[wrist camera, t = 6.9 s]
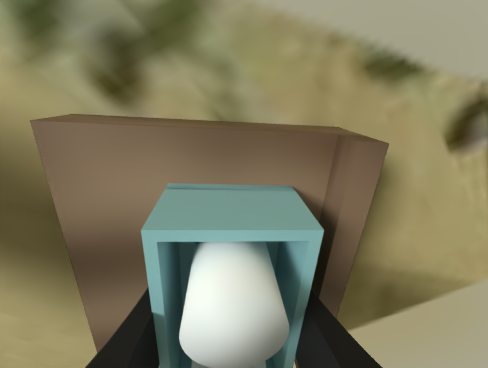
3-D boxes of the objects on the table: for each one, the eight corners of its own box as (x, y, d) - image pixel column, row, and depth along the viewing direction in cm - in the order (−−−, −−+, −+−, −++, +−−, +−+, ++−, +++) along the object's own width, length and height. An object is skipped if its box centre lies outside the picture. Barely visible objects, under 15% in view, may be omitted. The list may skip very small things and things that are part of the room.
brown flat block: (297, 315, 17) (318, 376, 13) (117, 322, 16) (85, 392, 12) (337, 127, 12) (389, 143, 8) (71, 114, 11) (-10, 126, 7)
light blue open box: (271, 323, 14) (295, 444, 9) (178, 328, 13) (155, 458, 8) (291, 186, 10) (349, 264, 6) (168, 183, 10) (118, 269, 5)
